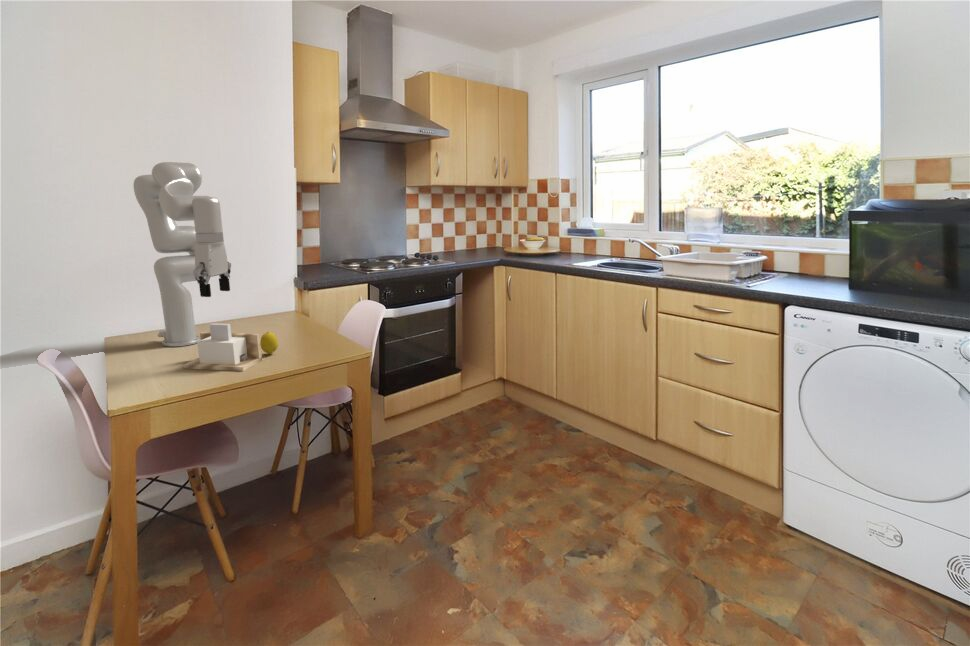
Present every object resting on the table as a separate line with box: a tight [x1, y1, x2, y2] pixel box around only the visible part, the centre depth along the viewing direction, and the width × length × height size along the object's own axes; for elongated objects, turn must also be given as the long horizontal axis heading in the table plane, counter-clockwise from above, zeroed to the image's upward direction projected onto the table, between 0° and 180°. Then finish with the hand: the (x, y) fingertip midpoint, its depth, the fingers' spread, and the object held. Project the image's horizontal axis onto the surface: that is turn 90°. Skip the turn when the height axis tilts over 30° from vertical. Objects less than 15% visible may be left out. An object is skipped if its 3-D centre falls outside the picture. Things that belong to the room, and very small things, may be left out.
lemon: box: [260, 331, 279, 355], centre depth 185 cm, size 6×6×8 cm
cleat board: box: [182, 331, 263, 372], centre depth 174 cm, size 20×11×9 cm, turn 82°
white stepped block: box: [196, 322, 248, 365], centre depth 173 cm, size 12×7×12 cm, turn 82°
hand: (215, 293), depth 170 cm, fingers open, 9 cm apart
